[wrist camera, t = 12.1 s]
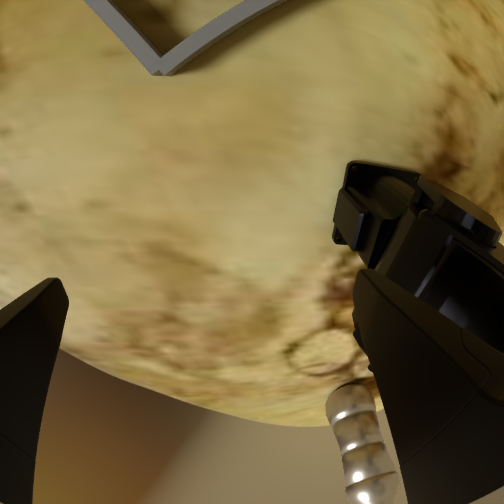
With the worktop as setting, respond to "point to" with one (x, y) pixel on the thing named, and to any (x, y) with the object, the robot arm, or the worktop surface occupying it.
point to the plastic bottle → (362, 446)
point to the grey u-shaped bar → (188, 49)
